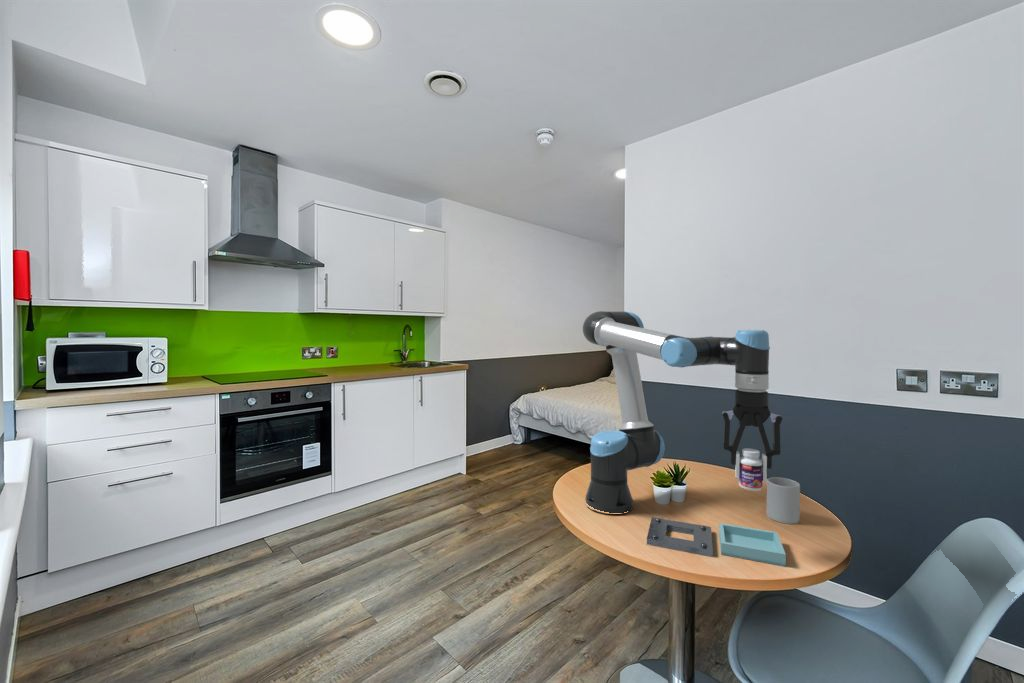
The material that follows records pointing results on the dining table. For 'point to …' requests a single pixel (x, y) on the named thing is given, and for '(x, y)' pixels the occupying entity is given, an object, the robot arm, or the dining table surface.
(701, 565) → the dining table surface
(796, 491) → the mug
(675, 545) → the plate
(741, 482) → the pill bottle
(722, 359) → the robot arm
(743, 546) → the tray
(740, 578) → the dining table surface
